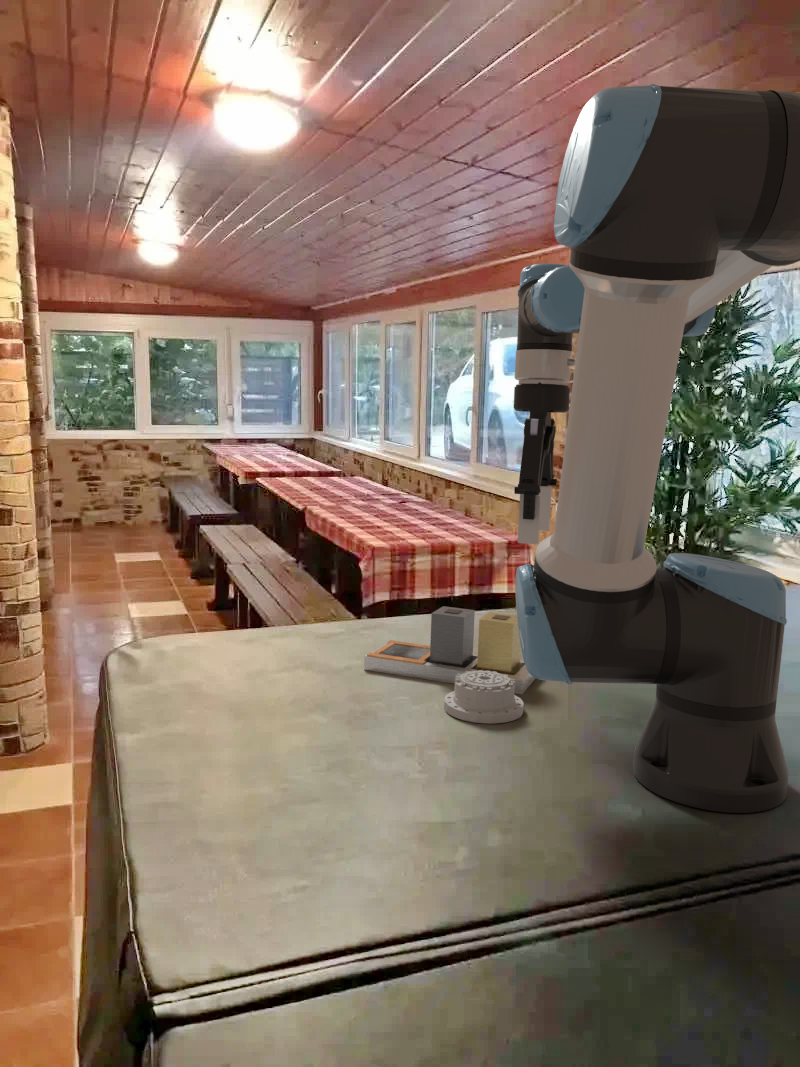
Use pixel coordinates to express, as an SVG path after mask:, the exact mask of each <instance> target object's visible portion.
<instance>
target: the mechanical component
mask: <svg viewBox="0 0 800 1067" xmlns="http://www.w3.org/2000/svg"><path fill="white" fill-rule="evenodd" d="M453 688H454V690H453V691H451V692H449V693H447V694H446V695H445V696H444V704H443V709H444V711H445V712H446V713H447V714H448V715H450V716H451V717H454V718H456V719H459V720H461V721H466V722H471V723H477V724H502V723H503V724H504V723H508V722H513V721H515V720H518V719H519V718H521V717H522V715H523V714H524V707H525V706H524V704H525V703H524V701H523V700H522V698H521V697H519V696H518V695H516V694H515V693H514V690H515V682H514V679H510V678H508V675H506V674H504V675H503V674H500V673H497V672H496V671H493V672H491V671H488V670H487V671H482V670H479V671H471V672H470V671H466V673H464V674H462V675H461V674H457V676H456V677H455V684H454V687H453Z"/></svg>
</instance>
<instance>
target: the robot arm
mask: <svg viewBox="0 0 800 1067" xmlns="http://www.w3.org/2000/svg"><path fill="white" fill-rule="evenodd" d="M566 147H567V148H566V151H565V154H564V158H563V162H562V167H561V170H560V175H559V178H558V179H559V180H558V183H557V191H556V197H555V212H554V218H553V232H554V238H555V240H556V241H557V243H558V244H560V245H561V246H564V247H565V248H568V249H569V248H570V249H571V250H570V257H569V265H567V264H562V263H536V264H532V265H527V266H526V267H524V268H523V269H522V270H521V272H520V276H519V278H520V279H519V287H518V290H517V297H518V306H517V307H518V311H517V315H518V316H517V337H516V338H517V339H516V341H517V342H516V350H515V361H514V379H515V380H517V381H518V384H517V383H516V385H515V386H514V391H513V409H514V411H516V412H528V413H529V418H525V421H524V422H523V425H524V428H523V444H522V450H521V451H522V454H521V462H520V469H519V470H520V472H519V479H518V483H517V486H514V489H513V490H514V494H515V495H519V506H518V523H517V524H518V528H517V544H528V545H537V546H536V550H535V554H534V563H533V564H531V563H526V564H523V565H519V566H517V568H516V572H515V580H514V581H515V582H514V585H515V586H514V587H515V588H514V590H515V591H514V592H515V607H516V615H517V619H518V629H519V637H520V644H521V654H522V660H524V663H525V666H526V669H527V670H528V672H529V673H530V674H531V675H532V676H533V677H534V678H536V679H535V680H540V681H547V682H549V681H551V682H560V683H561V682H563V683H566V684H568V685H572V684H573V683H586V684H587V683H590V684H591V683H592V684H593V683H595V684H596V683H598V684H599V683H600V684H638V685H639V684H641V685H645V684H646V685H656V689H655V698H654V699H655V700H654V702H653V705H652V708H651V710H650V712H649V714H648V717H647V719H646V722H645V723H644V726H643V728H642V730H641V732H640V735H639V738H638V739H637V742H636V744H635V747H634V750H633V762H632V772H633V775H634V777H635V779H636V780H637V781H638V782H639V783H640V784H641V785H642V786H644V787H645V788H646V789H648V790H649V791H651V792H652V793H655V794H657V795H658V796H661V797H663V798H665V799H667V800H669V801H672V802H675V803H678V804H680V805H685V806H688V807H692V808H694V809H695V808H696V809H701V810H706V811H712V812H720V813H733V814H746V813H747V814H748V813H758V812H763V811H768V810H771V809H774V808H776V807H778V806H780V805H781V804H783V802H784V801H785V800H786V798H787V796H788V795H787V794H788V785H789V770H788V765H787V762H786V758H785V755H784V749H783V746H782V742H781V738H780V734H779V729H778V726H777V722H776V709H777V701H778V693H779V692H778V691H779V682H780V681H779V680H780V672H781V663H782V654H783V644H784V636H785V626H786V625H787V621H788V620H787V617H786V616H787V615H786V613H787V612H786V609H787V608H786V607H787V606H786V600H787V599H786V598H787V596H786V595H787V589H786V586H785V584H784V582H783V581H782V580H781V579H780V577H778V576H777V575H776V574H774V573H773V572H770V571H767V570H766V569H762V568H759V567H757V566H753V565H751V564H750V565H749V564H745V563H742V562H738V561H734V560H729V559H724V558H720V557H713V556H709V555H708V556H707V555H702V554H697V553H696V554H695V553H686V552H680V553H679V552H678V553H677V552H673V553H669V554H667V556H666V558H665V560H664V561H663V567H664V568H657V562H656V559H655V558H654V556H653V555H652V554H651V553H650V551H649V550H648V549H647V548H646V546H645V544H646V539H647V532H648V527H649V522H650V516H651V510H652V505H653V501H654V495H655V494H654V493H655V490H656V484H657V478H658V473H659V469H660V468H659V467H660V461H661V457H662V456H661V455H662V450H663V444H664V440H665V436H666V435H665V434H666V430H667V429H666V428H667V424H668V418H669V413H670V406H671V401H672V396H673V390H674V385H675V380H676V374H677V368H678V364H679V357H680V352H681V348H682V341H683V337H699V336H702V335H703V334H705V333H706V332H708V330H709V328H710V325H711V324H712V323H713V320H714V318H715V314H716V311H717V310H716V308H717V305H718V304H719V303H720V302H722V301H723V300H726V299H727V298H728V297H729V296H731V295H733V293H735V292H736V291H738V290H740V289H741V288H742V287H744V286H746V285H747V284H748V283H750V282H751V281H753V280H755V279H756V278H757V277H758V276H760V275H762V274H763V273H765V272H767V271H768V270H769V269H771V268H772V267H774V268H775V267H777V268H779V267H785V266H786V267H787V266H789V265H794V264H796V263H798V262H800V92H799V93H798V92H794V91H790V90H777V89H776V90H775V89H774V90H773V89H769V90H753V89H752V90H750V89H731V88H727V89H725V88H704V87H686V86H684V87H682V86H670V85H669V86H666V85H658V84H655V83H651V84H649V85H633V86H632V85H631V86H629V85H628V86H617V87H616V86H615V87H614V86H613V87H608V88H607V87H606V88H604V89H602V90H600V91H598V92H596V93H595V94H594V95H593V96H592V97H591V98H590V99H589V100H588V101H587V102H586V103H585V105H584V106H583V108H582V110H581V111H580V113H579V115H578V118H577V120H576V122H575V124H574V126H573V129H572V132H571V135H570V138H569V141H568V144H567V146H566ZM573 334H578V340H577V348H576V357H575V358H571V356H572V351H573V338H574V335H573ZM570 367H574V371H573V378H572V388H570V387H569V385H566V382H570V380H571V368H570ZM570 392H571V393H570ZM567 412H568V417H567V418H568V419H567V426H566V427H567V428H566V434H565V435H566V436H565V442H564V448H563V449H564V450H563V457H562V458H563V459H562V465H561V473H560V474H561V475H560V482H559V488H558V499H557V504H556V505H557V506H556V512H555V519H554V520H555V521H554V528H553V533H552V534H550V535H549V536H547V537H545V538H544V539H543V540H541V541H540V531H543V532H550V527H551V508H552V491H553V490H552V488H553V487H557V485H558V479H557V478H555V474H554V450H555V449H554V448H555V438H556V432H557V430H556V428H557V427H556V425H555V424H556V423H555V422H556V421H555V418H552V416H551V415H552V413H562V414H564V413H567ZM539 541H540V542H539Z"/></svg>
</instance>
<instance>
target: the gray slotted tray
mask: <svg viewBox="0 0 800 1067" xmlns="http://www.w3.org/2000/svg"><path fill="white" fill-rule="evenodd" d="M363 659H364V660H363V662H364V663H363V666H364V667H363V668H364V670H365V671H371V672H376V673H382V674H383V673H384V674H390V675H395V676H396V675H397V676H403V677H408V678H416V679H422V680H428V681H433V682H440V683H447V684H453V685H455V677H456V676H457V674H461V675H462V674H464V673H466V671H470V672H471V671H479V670H477V661H478V652H477V653H476V652H473V661H472V663H471V664H469V665H468V666H467V667H466V668H461V667H454V666H448V665H441V664H434V663H430V645H426V644H421V643H414V642H405V641H399V640H390V639H389V640H388V641H387V642H385V643H384V644H382V645H381V646H378V647H377V648H376V649H373V650H371V651H370V652H369V653H367V654H365V655H364V658H363ZM500 674H501V673H500ZM503 675H504V674H503ZM506 675H508V674H506ZM508 678H510V679H514V682H515V690H514V694H515V695H516V694H517V695H523V694H524V693H525V692H526V690H528V688H529V687H530V686H531V684H533V682H534V681H535V680H537V679H536V678H534V677H533V676H532V675H531V674H530V673H529V672H528V670H527V669H526V666H525V663H524V660H523V659H520V670H519V671H518V672H517V673H516V674H515V676H514V675H508Z"/></svg>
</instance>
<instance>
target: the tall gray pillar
mask: <svg viewBox="0 0 800 1067" xmlns="http://www.w3.org/2000/svg"><path fill="white" fill-rule="evenodd" d="M475 610H476V609H467V608H460V607H450V606H445V605H444V606H441V607H439V608H438V609H436V610H434V611H433V612H431V620H430V622H431V623H430V645H429V646H430V663H434V664H441V665H448V666H454V667H461V668H466V667H467V666H468V665H469V664H471V663H472V661H473V653H474V638H475V637H474V633H475V612H476V611H475Z"/></svg>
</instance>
